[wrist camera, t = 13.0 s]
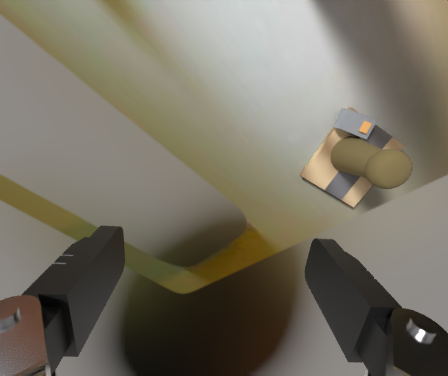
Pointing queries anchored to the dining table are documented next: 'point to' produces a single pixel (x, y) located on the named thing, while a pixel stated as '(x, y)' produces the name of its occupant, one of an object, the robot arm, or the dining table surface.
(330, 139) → the plywood board
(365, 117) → the block
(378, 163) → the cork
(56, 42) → the dining table surface
